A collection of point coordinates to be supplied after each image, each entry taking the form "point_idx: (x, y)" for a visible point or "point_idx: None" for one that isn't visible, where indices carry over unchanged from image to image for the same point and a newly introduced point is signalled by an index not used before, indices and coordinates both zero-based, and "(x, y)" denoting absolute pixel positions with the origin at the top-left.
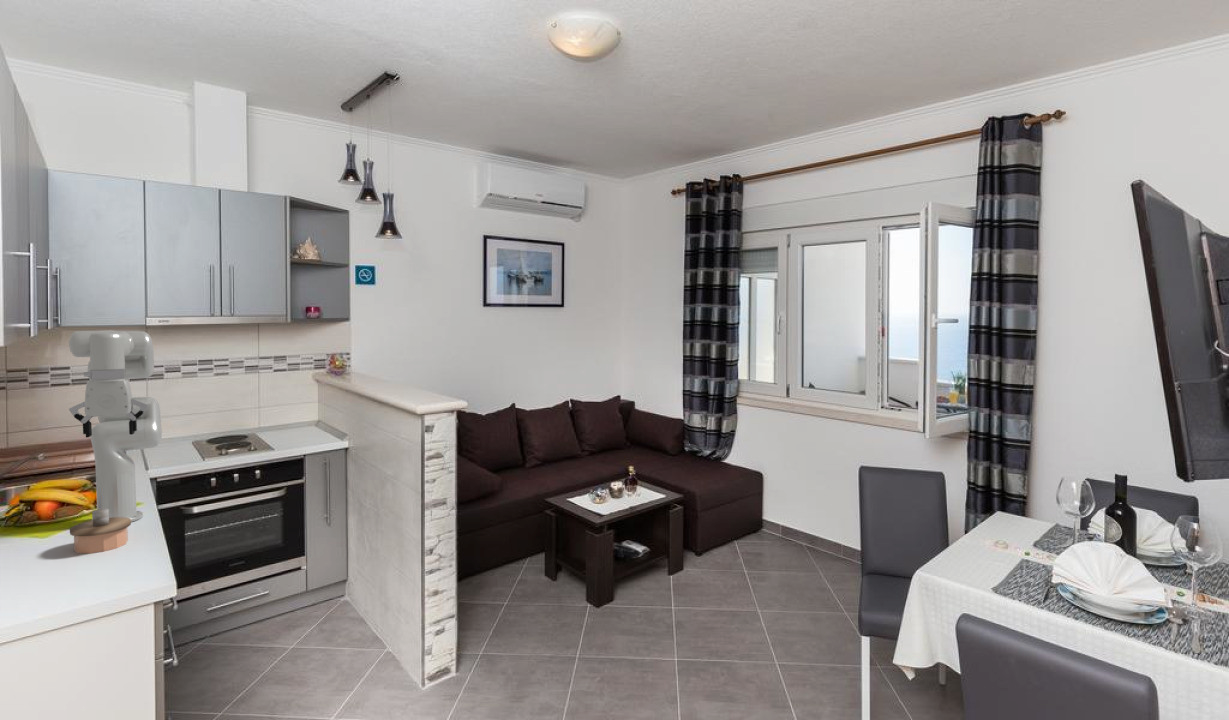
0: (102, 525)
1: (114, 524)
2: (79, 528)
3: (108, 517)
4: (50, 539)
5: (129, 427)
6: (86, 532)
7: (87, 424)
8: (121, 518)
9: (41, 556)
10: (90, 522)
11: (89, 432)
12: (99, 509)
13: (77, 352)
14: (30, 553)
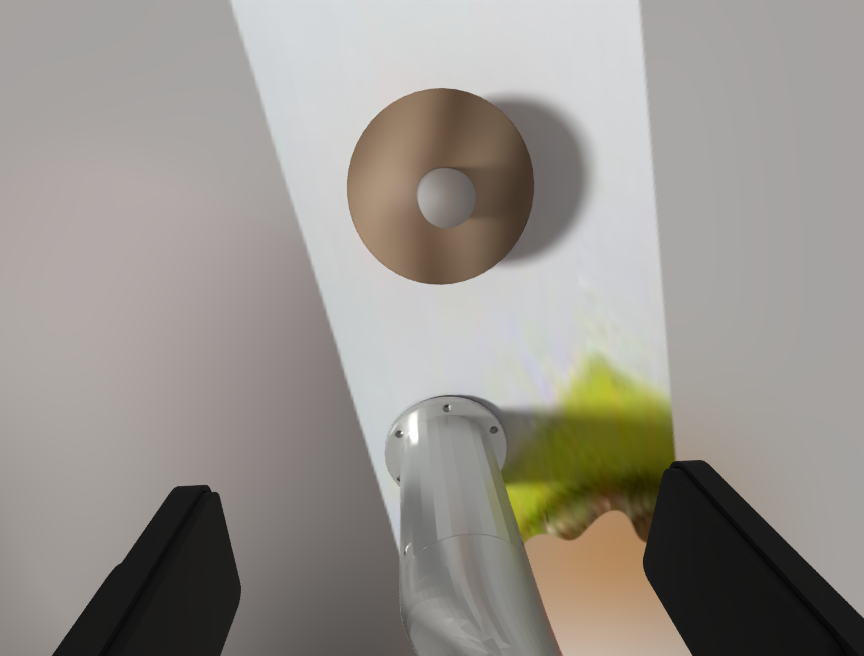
0: (432, 169)
1: (394, 172)
2: (504, 175)
3: (417, 192)
4: (581, 336)
5: (156, 579)
6: (470, 96)
7: (845, 641)
8: (389, 253)
9: (581, 167)
10: (482, 246)
11: (697, 530)
12: (454, 224)
13: None
14: (612, 217)
